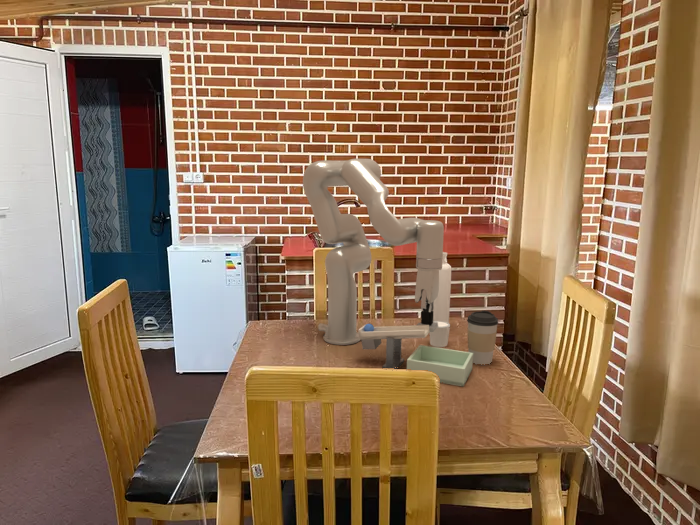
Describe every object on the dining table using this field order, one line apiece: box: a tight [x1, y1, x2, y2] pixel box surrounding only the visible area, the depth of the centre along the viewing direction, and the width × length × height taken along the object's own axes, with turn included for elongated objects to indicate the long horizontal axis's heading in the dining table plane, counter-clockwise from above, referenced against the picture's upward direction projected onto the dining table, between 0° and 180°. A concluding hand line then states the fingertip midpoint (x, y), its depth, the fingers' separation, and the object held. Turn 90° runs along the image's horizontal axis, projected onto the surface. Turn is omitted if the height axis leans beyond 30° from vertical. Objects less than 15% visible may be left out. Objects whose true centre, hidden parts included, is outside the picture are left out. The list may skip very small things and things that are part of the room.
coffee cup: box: [467, 310, 499, 366], centre depth 156 cm, size 9×9×15 cm
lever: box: [357, 322, 438, 350], centre depth 155 cm, size 21×12×6 cm, turn 67°
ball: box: [363, 323, 375, 332], centre depth 155 cm, size 3×3×3 cm
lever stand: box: [382, 337, 405, 370], centre depth 153 cm, size 4×8×10 cm, turn 157°
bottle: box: [432, 251, 452, 324], centre depth 183 cm, size 8×8×28 cm
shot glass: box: [429, 321, 451, 348], centre depth 171 cm, size 7×7×7 cm
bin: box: [406, 344, 473, 387], centre depth 148 cm, size 16×13×5 cm
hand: (427, 323), depth 154 cm, fingers closed
